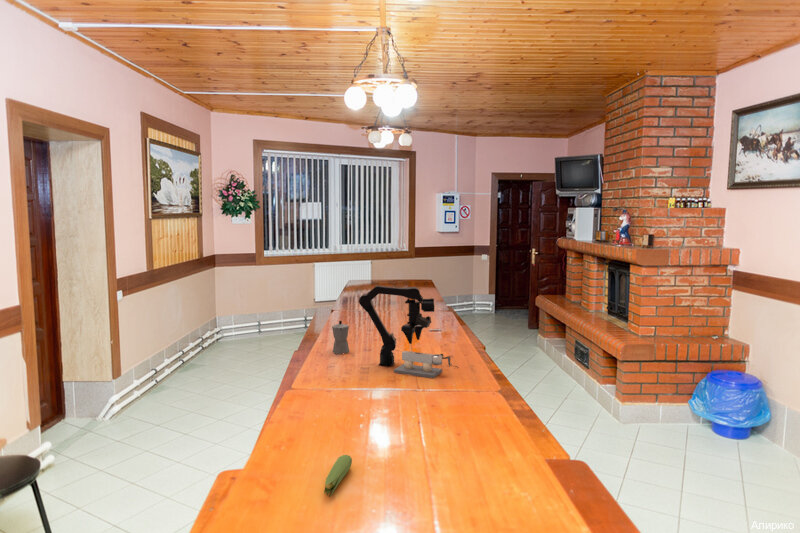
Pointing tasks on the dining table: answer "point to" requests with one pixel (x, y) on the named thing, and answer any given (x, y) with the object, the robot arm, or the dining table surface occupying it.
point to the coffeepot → (340, 338)
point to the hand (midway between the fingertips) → (414, 341)
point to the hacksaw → (448, 359)
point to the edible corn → (337, 473)
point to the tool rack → (418, 370)
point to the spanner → (422, 357)
